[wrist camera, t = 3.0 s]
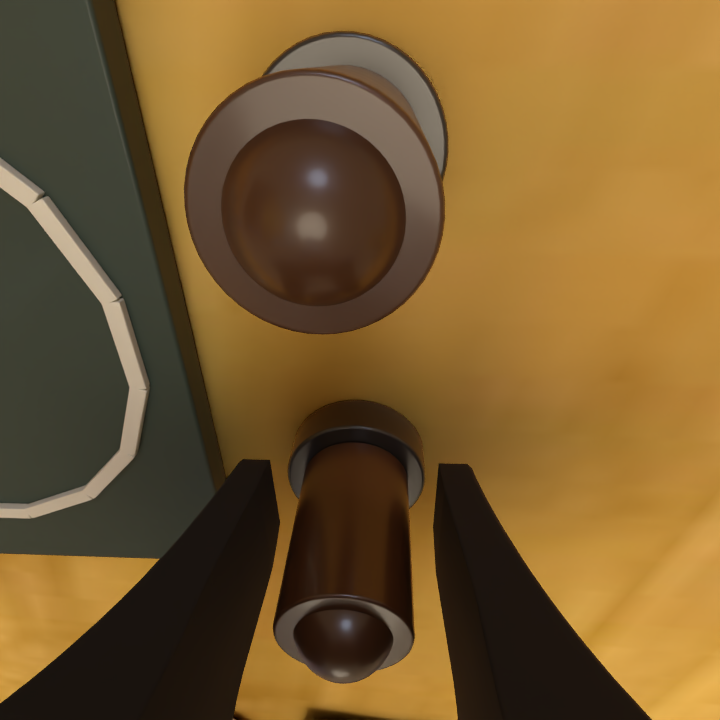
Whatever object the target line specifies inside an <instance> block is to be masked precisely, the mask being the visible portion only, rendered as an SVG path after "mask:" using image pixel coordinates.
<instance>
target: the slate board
mask: <svg viewBox="0 0 720 720" xmlns="http://www.w3.org/2000/svg"><path fill="white" fill-rule="evenodd" d="M225 480H226V477H225V473H224V468H223V464H222V460H221V455H220V451H219V447H218V443H217V438H216V434H215V430H214V426H213V421H212V417H211V413H210V408H209V404H208V400H207V396H206V391H205V387H204V383H203V379H202V374H201V370H200V366H199V361H198V357H197V353H196V349H195V344H194V340H193V336H192V332H191V327H190V323H189V319H188V314H187V310H186V306H185V302H184V297H183V293H182V289H181V285H180V280H179V276H178V272H177V267H176V263H175V259H174V255H173V250H172V246H171V242H170V238H169V233H168V229H167V225H166V220H165V216H164V212H163V208H162V203H161V199H160V195H159V191H158V186H157V182H156V178H155V173H154V169H153V165H152V161H151V156H150V152H149V148H148V144H147V139H146V135H145V131H144V126H143V122H142V118H141V114H140V109H139V105H138V101H137V96H136V92H135V88H134V84H133V79H132V75H131V71H130V67H129V62H128V58H127V54H126V49H125V45H124V41H123V37H122V32H121V28H120V24H119V20H118V15H117V11H116V7H115V2H114V0H0V553H4V554H34V555H64V556H95V557H125V558H155V559H160V558H161V557H162V556H163V555H164V554H165V553H166V552H167V551H168V550H169V548H170V547H171V546H172V545H173V544H174V543H175V542H176V541H177V539H178V538H179V537H180V536H181V535H182V534H183V532H184V531H185V530H186V529H187V528H188V526H189V525H190V524H191V523H192V522H193V520H194V519H195V518H196V517H197V516H198V515H199V513H200V512H201V511H202V510H203V508H204V507H205V506H206V505H207V503H208V502H209V501H210V500H211V498H212V497H213V496H214V495H215V493H216V492H217V491H218V490H219V488H220V487H221V486H222V484H223V483H224V482H225Z"/></svg>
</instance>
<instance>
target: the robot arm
mask: <svg viewBox="0 0 720 720" xmlns="http://www.w3.org/2000/svg"><path fill="white" fill-rule="evenodd" d="M279 525H280V519H279V513H278V507H277V501H276V495H275V489H274V483H273V476H272V470H271V464H270V460H252V459H243V460H242V461H240V462H239V463H238V465H237V466H236V467H235V469H234V470H233V471H232V473H231V474H230V475H229V476H228V478H227V479H226V480H225V482H224V483H223V484H222V486H221V487H220V488H219V490H218V491H217V492H216V493H215V495H214V496H213V497H212V498H211V500H210V501H209V502H208V503H207V505H206V506H205V507H204V508H203V510H202V511H201V512H200V513H199V515H198V516H197V517H196V518H195V519H194V520H193V522H192V523H191V524H190V525H189V526H188V528H187V529H186V530H185V531H184V532H183V534H182V535H181V536H180V537H179V538H178V539H177V541H176V542H175V543H174V544H173V545H172V546H171V547H170V548H169V550H168V551H167V552H166V553H165V554H164V555H163V556H162V557H161V558H160V559H159V560H158V562H157V563H156V564H155V565H154V566H153V567H152V568H151V569H150V570H149V571H148V572H147V573H146V575H145V576H144V577H143V578H142V579H141V580H140V581H139V582H138V583H137V584H136V585H135V586H134V587H133V588H132V589H131V590H130V591H129V592H128V593H127V594H126V595H125V596H124V597H123V598H122V599H121V600H120V601H119V602H118V603H117V604H116V605H115V606H114V607H113V608H112V609H111V610H109V611H108V612H107V613H106V614H105V615H104V616H103V617H102V618H101V619H100V620H99V621H98V622H97V623H96V624H95V625H94V626H92V627H91V628H90V629H89V630H88V631H87V632H86V633H85V634H83V635H82V636H81V637H80V638H79V639H78V640H77V641H76V642H74V643H73V644H72V645H71V646H70V647H69V648H68V649H66V650H65V651H64V652H63V653H62V654H61V655H60V656H59V657H57V658H56V659H55V660H54V661H53V662H51V663H50V664H49V665H48V666H47V667H46V668H44V669H43V670H42V671H41V672H39V673H38V674H37V675H36V676H35V677H33V678H32V679H31V680H30V681H28V682H27V683H26V684H25V685H23V686H22V687H21V688H19V689H18V690H17V691H16V692H14V693H13V694H12V695H11V696H9V697H8V698H7V699H5V700H4V701H3V702H2V703H0V720H236V719H234V718H233V716H234V711H235V705H236V700H237V696H238V691H239V687H240V683H241V679H242V675H243V671H244V668H245V664H246V660H247V657H248V653H249V650H250V646H251V643H252V639H253V636H254V632H255V629H256V625H257V622H258V618H259V614H260V611H261V607H262V604H263V600H264V597H265V593H266V589H267V586H268V582H269V579H270V575H271V571H272V568H273V562H274V556H275V550H276V544H277V538H278V532H279ZM433 531H434V549H435V565H436V576H437V582H438V588H439V595H440V601H441V607H442V613H443V619H444V626H445V632H446V638H447V644H448V650H449V656H450V662H451V668H452V675H453V681H454V688H455V696H456V704H457V714H458V720H652V719H651V718H650V717H649V716H648V715H647V714H646V713H645V712H644V711H643V710H642V708H641V707H640V706H639V705H638V704H637V703H636V702H635V701H634V700H633V699H632V698H631V696H630V695H629V694H628V693H627V692H626V691H625V690H624V689H623V688H622V687H621V686H620V684H619V683H618V682H617V681H616V680H615V679H614V678H613V677H612V675H611V674H610V673H609V672H608V671H607V670H606V668H605V667H604V666H603V665H602V664H601V662H600V661H599V660H598V659H597V658H596V656H595V655H594V654H593V653H592V652H591V651H590V649H589V648H588V647H587V646H586V645H585V643H584V642H583V641H582V640H581V638H580V637H579V636H578V634H577V633H576V632H575V631H574V629H573V628H572V627H571V626H570V624H569V623H568V622H567V621H566V619H565V618H564V617H563V615H562V614H561V613H560V611H559V610H558V609H557V607H556V606H555V605H554V603H553V602H552V601H551V599H550V598H549V597H548V595H547V594H546V592H545V591H544V590H543V588H542V587H541V585H540V584H539V582H538V581H537V580H536V578H535V577H534V575H533V574H532V572H531V571H530V569H529V568H528V566H527V565H526V563H525V562H524V560H523V559H522V557H521V556H520V554H519V553H518V551H517V549H516V548H515V546H514V545H513V543H512V541H511V540H510V538H509V537H508V535H507V533H506V532H505V530H504V529H503V527H502V525H501V524H500V522H499V520H498V518H497V517H496V515H495V513H494V511H493V510H492V508H491V506H490V504H489V502H488V501H487V499H486V497H485V495H484V493H483V491H482V489H481V487H480V485H479V483H478V481H477V479H476V477H475V475H474V472H473V470H472V468H471V467H470V466H469V465H468V464H442V463H439V467H438V478H437V489H436V501H435V512H434V524H433Z"/></svg>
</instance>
